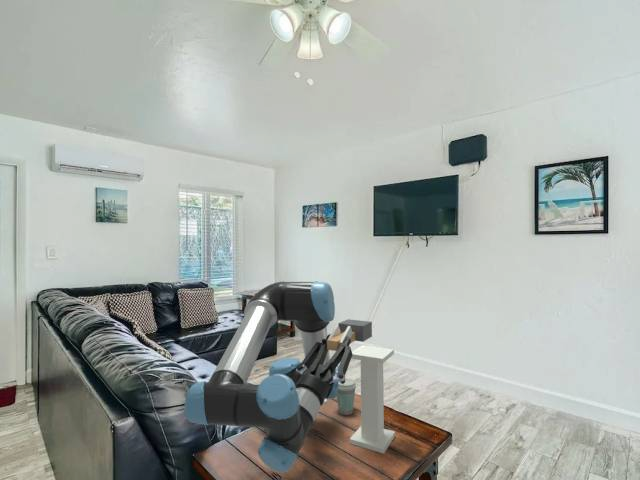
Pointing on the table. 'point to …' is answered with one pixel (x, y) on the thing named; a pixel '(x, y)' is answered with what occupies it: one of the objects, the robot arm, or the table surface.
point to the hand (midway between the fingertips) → (344, 329)
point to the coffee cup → (346, 397)
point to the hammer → (359, 330)
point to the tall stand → (372, 400)
